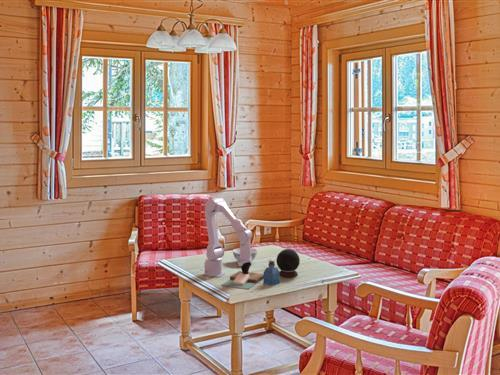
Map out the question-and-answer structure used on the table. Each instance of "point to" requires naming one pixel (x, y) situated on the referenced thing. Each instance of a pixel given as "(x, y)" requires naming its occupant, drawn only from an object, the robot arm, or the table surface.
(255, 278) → the deck
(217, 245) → the robot arm
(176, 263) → the table surface
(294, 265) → the black ball on stand
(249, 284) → the mat
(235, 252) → the chinaware
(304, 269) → the table surface
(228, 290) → the table surface
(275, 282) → the perfume bottle
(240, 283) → the tile
